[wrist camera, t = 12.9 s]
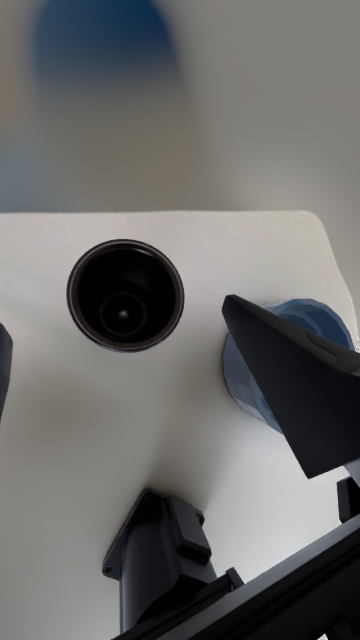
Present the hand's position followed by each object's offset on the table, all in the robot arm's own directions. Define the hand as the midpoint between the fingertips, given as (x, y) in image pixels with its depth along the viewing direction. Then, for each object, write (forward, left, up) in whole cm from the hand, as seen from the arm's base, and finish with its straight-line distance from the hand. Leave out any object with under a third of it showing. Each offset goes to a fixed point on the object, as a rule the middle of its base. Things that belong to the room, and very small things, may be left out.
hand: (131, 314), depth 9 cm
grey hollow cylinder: (+1, 0, -10) cm, 10 cm away
